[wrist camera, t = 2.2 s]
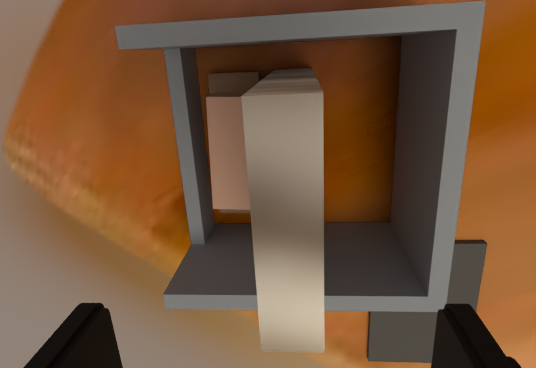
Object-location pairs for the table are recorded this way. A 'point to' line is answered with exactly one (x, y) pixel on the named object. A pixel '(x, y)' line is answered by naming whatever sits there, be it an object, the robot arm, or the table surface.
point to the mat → (424, 323)
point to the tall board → (287, 207)
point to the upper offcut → (227, 151)
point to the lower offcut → (233, 84)
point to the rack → (405, 158)
